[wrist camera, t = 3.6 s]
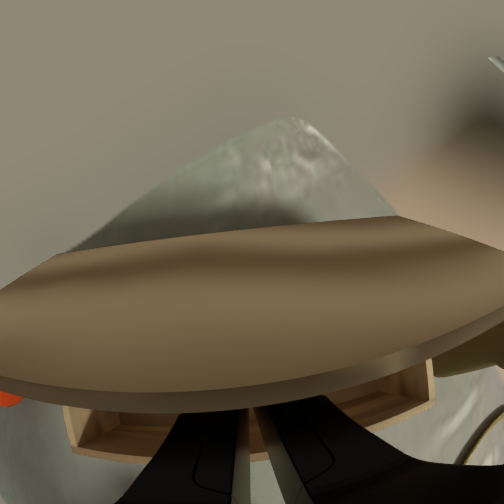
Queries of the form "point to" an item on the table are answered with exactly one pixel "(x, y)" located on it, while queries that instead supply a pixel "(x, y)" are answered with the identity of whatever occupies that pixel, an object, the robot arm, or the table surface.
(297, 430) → the robot arm
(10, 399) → the clementine
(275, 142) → the table surface
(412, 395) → the kraft carton
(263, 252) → the carton flap
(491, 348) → the cork
